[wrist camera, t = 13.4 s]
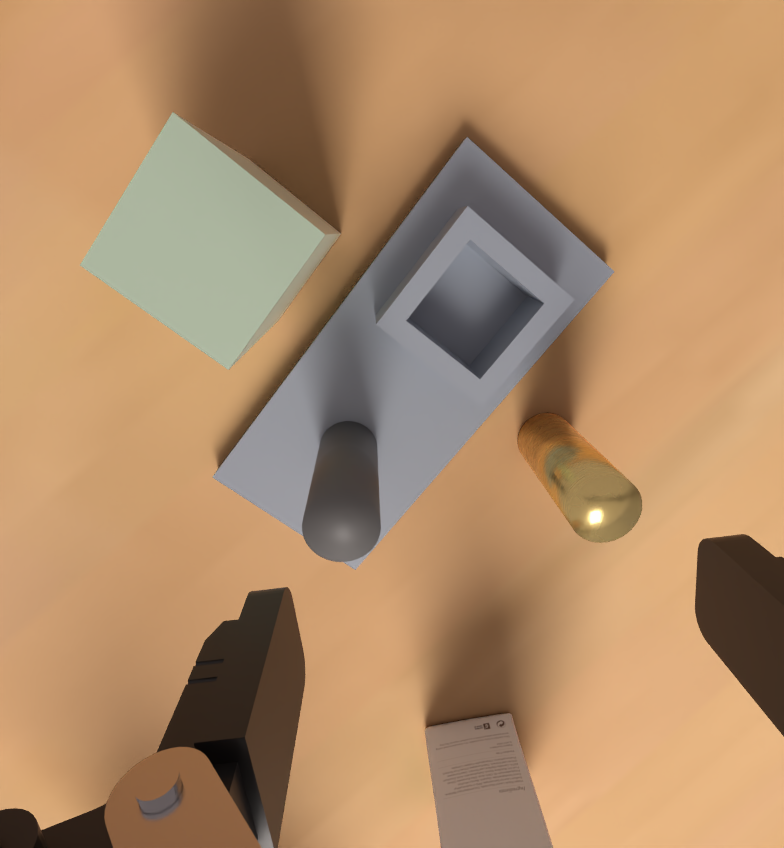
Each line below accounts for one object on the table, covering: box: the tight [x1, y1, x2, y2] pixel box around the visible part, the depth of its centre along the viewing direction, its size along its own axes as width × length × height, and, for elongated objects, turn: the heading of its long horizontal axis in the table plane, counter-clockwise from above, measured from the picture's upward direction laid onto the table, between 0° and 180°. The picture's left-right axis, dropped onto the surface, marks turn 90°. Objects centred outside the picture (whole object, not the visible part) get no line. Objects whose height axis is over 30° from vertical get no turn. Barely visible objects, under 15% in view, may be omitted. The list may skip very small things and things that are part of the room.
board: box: [213, 137, 614, 570], centre depth 27 cm, size 10×22×10 cm, turn 142°
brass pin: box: [518, 413, 642, 543], centre depth 29 cm, size 3×3×9 cm
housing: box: [80, 112, 341, 370], centre depth 24 cm, size 6×6×12 cm
